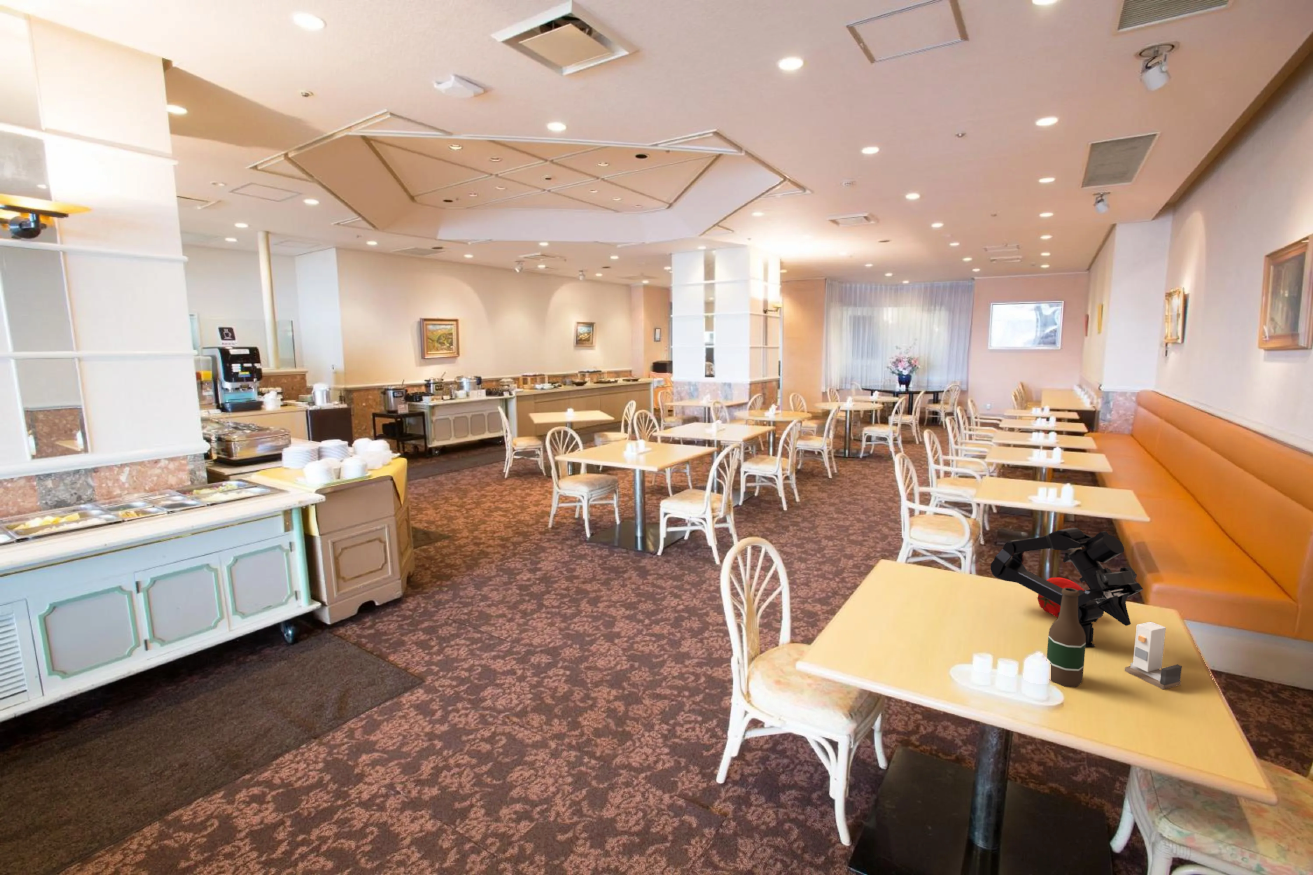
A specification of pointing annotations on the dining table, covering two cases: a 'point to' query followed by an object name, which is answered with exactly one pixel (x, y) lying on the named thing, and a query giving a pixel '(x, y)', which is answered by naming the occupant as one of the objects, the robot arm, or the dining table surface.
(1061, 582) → the tomato
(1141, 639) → the switch module
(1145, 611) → the dining table surface
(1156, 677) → the rail board
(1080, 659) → the beer bottle
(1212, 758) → the dining table surface
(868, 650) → the dining table surface
